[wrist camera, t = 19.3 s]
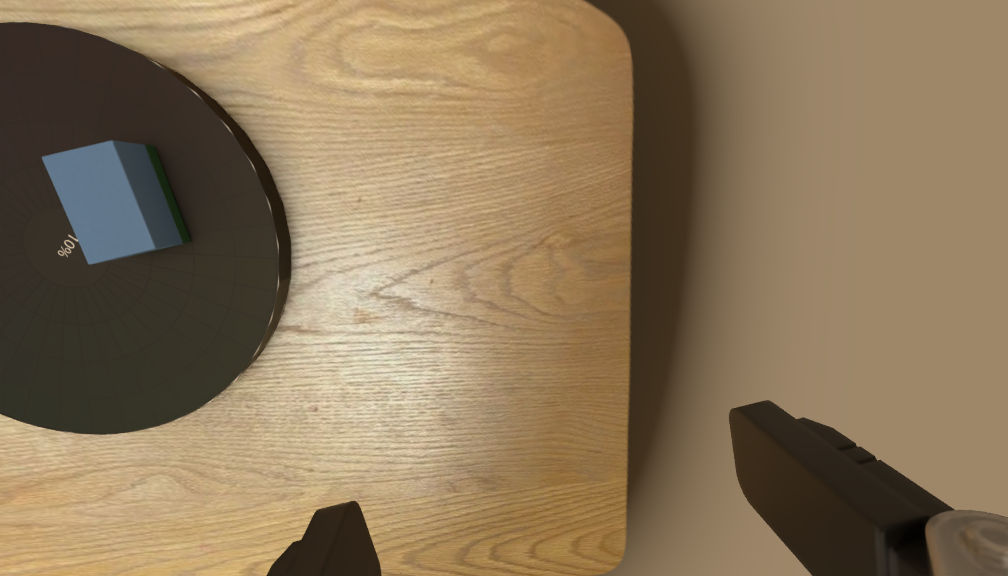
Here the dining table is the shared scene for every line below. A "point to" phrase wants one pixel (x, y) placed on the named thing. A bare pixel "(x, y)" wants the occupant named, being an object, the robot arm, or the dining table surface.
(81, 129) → the disc
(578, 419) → the dining table surface
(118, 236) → the sponge
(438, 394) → the dining table surface
